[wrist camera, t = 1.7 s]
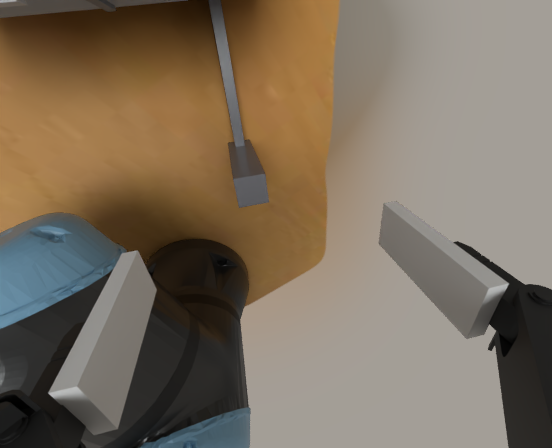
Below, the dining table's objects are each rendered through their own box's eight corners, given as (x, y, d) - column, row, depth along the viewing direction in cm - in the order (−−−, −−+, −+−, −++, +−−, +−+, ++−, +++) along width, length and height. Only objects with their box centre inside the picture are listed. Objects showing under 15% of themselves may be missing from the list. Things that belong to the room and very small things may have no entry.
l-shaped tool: (252, 160, 32) (268, 202, 22) (232, 163, 32) (239, 207, 21) (220, -48, 22) (222, -147, 12) (190, -46, 22) (167, -145, 12)
